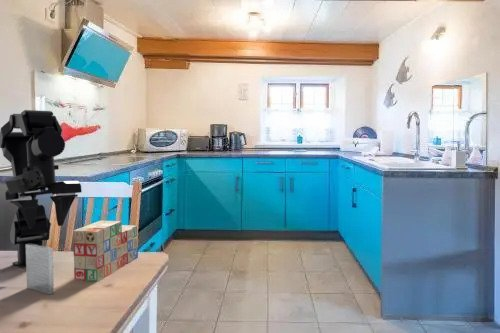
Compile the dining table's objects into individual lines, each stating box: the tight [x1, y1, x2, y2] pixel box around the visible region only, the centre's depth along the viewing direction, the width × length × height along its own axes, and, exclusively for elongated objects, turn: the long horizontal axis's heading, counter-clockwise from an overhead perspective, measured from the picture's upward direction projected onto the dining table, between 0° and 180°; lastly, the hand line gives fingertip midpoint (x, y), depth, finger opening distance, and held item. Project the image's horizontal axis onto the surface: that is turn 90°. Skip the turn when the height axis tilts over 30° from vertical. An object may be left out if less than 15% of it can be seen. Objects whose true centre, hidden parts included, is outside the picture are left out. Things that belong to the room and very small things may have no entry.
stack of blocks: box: [72, 220, 139, 282], centre depth 111 cm, size 21×6×12 cm, turn 169°
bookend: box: [25, 243, 55, 295], centre depth 94 cm, size 8×1×10 cm, turn 61°
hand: (45, 227), depth 101 cm, fingers open, 9 cm apart
